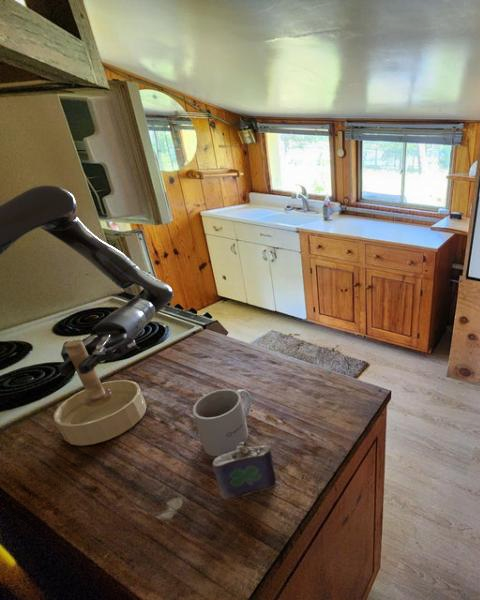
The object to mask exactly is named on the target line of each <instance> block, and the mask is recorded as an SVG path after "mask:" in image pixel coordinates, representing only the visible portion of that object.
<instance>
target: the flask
mask: <svg viewBox="0 0 480 600" xmlns="http://www.w3.org/2000/svg"><path fill="white" fill-rule="evenodd" d="M239 444H240V445H241V444H243V445H241V446H238V447H237V449H236V451H232V452H230V453H227V454H224V455H221V456H216V457H215V458H214V460H213V461H212V470H213V473H214V476H215V479H216V481H217V486H218V488H219V493H220V497H221V498H222V500H223V501H230V500H235V498H240V497H244V496H245V497H246V496H250V495H251V494H252V493H254V492H255V493H258V492H260V491H266V490H270V489H272V488H273V487H274V486H275V485H276V481H277V480H276V479H277V478H276V473H275V468H274V463H273V457H272V451H271V449H270V447H269V446H268V445H258V446H256V445H255V446H245V443H244V442H241V443H239ZM237 445H238V444H237Z"/></svg>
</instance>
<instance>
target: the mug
mask: <svg viewBox="0 0 480 600" xmlns="http://www.w3.org/2000/svg"><path fill="white" fill-rule="evenodd" d="M242 395H243V397H244V406H243V400H242ZM194 403H195V404H194V405H193V407H192V414H193V417H194V421H195V423H196V427H197V431H198V433H199V437H200V440H201V444H202V447H203V450H204V452H205V453H206V454H208V455H209V456H212V457H219V456H221V455H224V454H227V453H230V452H232V451H236V449H237V447H238V446H241V445H244V444H246V442H247V439H248V438H249V428H248V424H247V419H246V418H247V416H248V414H249V413H250V411H251V406H252V399H251V395H250V393H249V391H247V390H246V389H240V388H239V389H238V390H236V389H232V388H222V389H217V390H214V391H211V392H208V393H206V394H205V395H203V396H202V397H200V398H199V399H198V400H196V402H194ZM241 442H244V444H241V445H240V444H239V443H241ZM237 444H238V445H237Z"/></svg>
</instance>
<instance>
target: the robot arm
mask: <svg viewBox="0 0 480 600" xmlns="http://www.w3.org/2000/svg"><path fill="white" fill-rule="evenodd" d="M38 228H40V229H41V230H42V231H44V232H47V233H48V234H50V235H51V236H53V237H54V238H56V239H57V240H59V241H61V242H62V243H64V244H65V245H66V246H68V247H69V248H71V249H72V250H74V251H75V252H76V253H77V254H78V255H80V256H82V257H83V258H84V259H85V260H86V261H88V262H89V264H91V265H93V266H94V267H95V268H96V269H97V270H98V271H100V272H101V274H103V275H104V276H105V277H106V278H108V280H110V281H111V282H112V283H113V284H115V285H116V286H117V287H118V288H120V289H123V290H127V289H130V288H133V287H135V286H139V287H141V288H142V290H140V291H139V292H138V293H137V294H136V295H135V296H134V297H133V298H131V299H130V300H128V301H126V302H125V303H124V304H122V305H121V306H120V307H118V308H117V309H116V310H114V311H112V312H111V313H109V314H108V315H107V316H106V317H104V318H103V319H102V320H100V321H99V322H98V323H97V324H95V326H93V328H92V329H91V332H90V334H89V336H86V337H84V338H83V339H81V340H82V342H83V344H84V346H85V348H86V351H87V353H88V355H89V356H88V357H87V358H86V359H85V360H84V361H82V362H81V363H80V364H79V365H78V369H79V371H80V373H81V374H87V373H88V372H89V371H91V370H92V369H94V368H96V367H97V366H98V365H99V364H102V363H104V362H105V361H106V360H107V361H108V362H113V361H115V360H117V359H119V358H121V357H122V356H124V355H126V354H128V353H130V352H131V351H133V350H135V349H137V343H136V340H135V339H136V338H137V337H138V336H139V335H140V334H141V333H142V331H143V330H144V329H145V327H146V326H147V325H148V324H149V323H150V322H151V321H152V320H153V319H154V317H155V316H156V315H157V314H158V313H159V312H160V311H162V310H163V309H164V308H165V307H166V306H167V305H168V304H170V303H171V302H172V301H173V300H174V297H175V293H174V290H173V288H172V287H171V286H170V285H169V284H168V283H166V282H165V281H163V280H161V279H158V278H156V277H155V276H153V275H151V274H150V273H148V272H146V271H144V270H143V269H141V268H140V267H139V266H138V265H137V264H136V263H135V262H134V261H132V260H131V259H130V258H129V257H128V256H127V255H126V254H124V253H123V252H121V251H120V250H118V249H117V248H115V247H114V246H112V245H111V244H108V243H107V242H105V241H104V240H102V239H100V238H98V237H97V236H96V235H95V234H93V233H92V232H91V231H90V230H89V229H88V228H87V227H86V226H85V225H84V224H83V222H81V220H80V218H79V217H78V205H77V201H76V199H75V197H74V195H73V194H72V193H70V191H68V190H67V189H65V188H63V187H60V186H56V185H50V184H49V185H47V184H45V185H44V184H43V185H37V186H34V187H31V188H29V189H27V190H25V191H23V192H21V193H19V194H18V195H16V196H14V197H12V198H11V199H9V200H7V201H5V202H3V203H2V204H0V257H1V256H2V255H4V253H6V252H7V251H8V250H9V249H11V247H12V246H13V245H15V243H16V242H17V241H18V240H20V239H21V238H23V237H24V236H26V235H27V234H28V233H30V232H33V231H34V230H36V229H38ZM70 341H71V340H67V341H65V342H64V343H63V345H62V348H61V352H60V356H61V358H62V360H63V362H61V363H60V364H58V367H57V369H58V370H59V373H60V375H61V376H63V377H64V376H69V375H70V374H71V373H72V372H73V371H75V370H76V369H75V367H74V365H73V363H72V361H71V359H70V357H69V355H68V353H67V351H66V348H65V346H64V345H65V344H66V343H67V342H70ZM116 351H117V352H116ZM115 352H116V353H115Z"/></svg>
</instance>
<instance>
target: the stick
mask: <svg viewBox="0 0 480 600" xmlns="http://www.w3.org/2000/svg"><path fill="white" fill-rule="evenodd" d="M82 340H83V339H73V340H69V341H70V342H67V341H66V342H67V343H66V344H65V345H64V346H65V348H66V351H67V353H68V355H69V357H70V359H71V361H72V363H73V365H74V367H75V369H74V370H75V371H76V374H77V375H78V377H79V380H80V383H81V384H82V386H83V388H84V390H86V392H87V394H88V395H87V396H86V397H85V399H84V402H85V404H86V406H88V407H96V406H100V405H102V404H105V403H106V402H108V401H109V400H110V399H111V398H112V396H113V395H112V393H111V391H110V390H109V389H104V388H103V386H102V384H101V383H102V382H101V380H100V377H99V375H98V373H97V371H96V369H95V368H96V367H95V368H94V369H92V370H91V371H89V372H88V373H87V374H81V373H80V371H79V369H78V365H79V364H80V363H81V362H82V361H84V360H85V359H86V358H87V357H88V356H89V355H88V353H87V351H86V348H85V346H84V344H83V342H82Z"/></svg>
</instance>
